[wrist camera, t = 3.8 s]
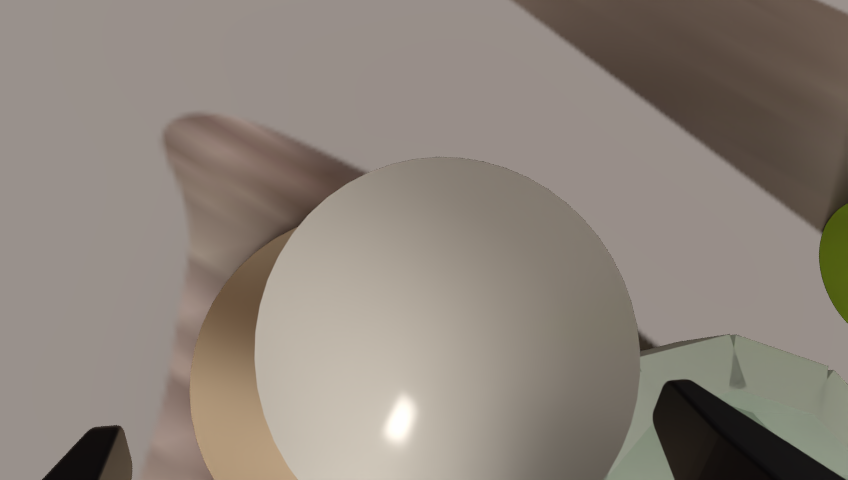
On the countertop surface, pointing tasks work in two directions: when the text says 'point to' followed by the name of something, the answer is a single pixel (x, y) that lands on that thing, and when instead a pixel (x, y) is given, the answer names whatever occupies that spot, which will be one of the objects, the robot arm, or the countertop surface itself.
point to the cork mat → (235, 379)
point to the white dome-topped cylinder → (446, 333)
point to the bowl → (741, 400)
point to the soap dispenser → (836, 260)
